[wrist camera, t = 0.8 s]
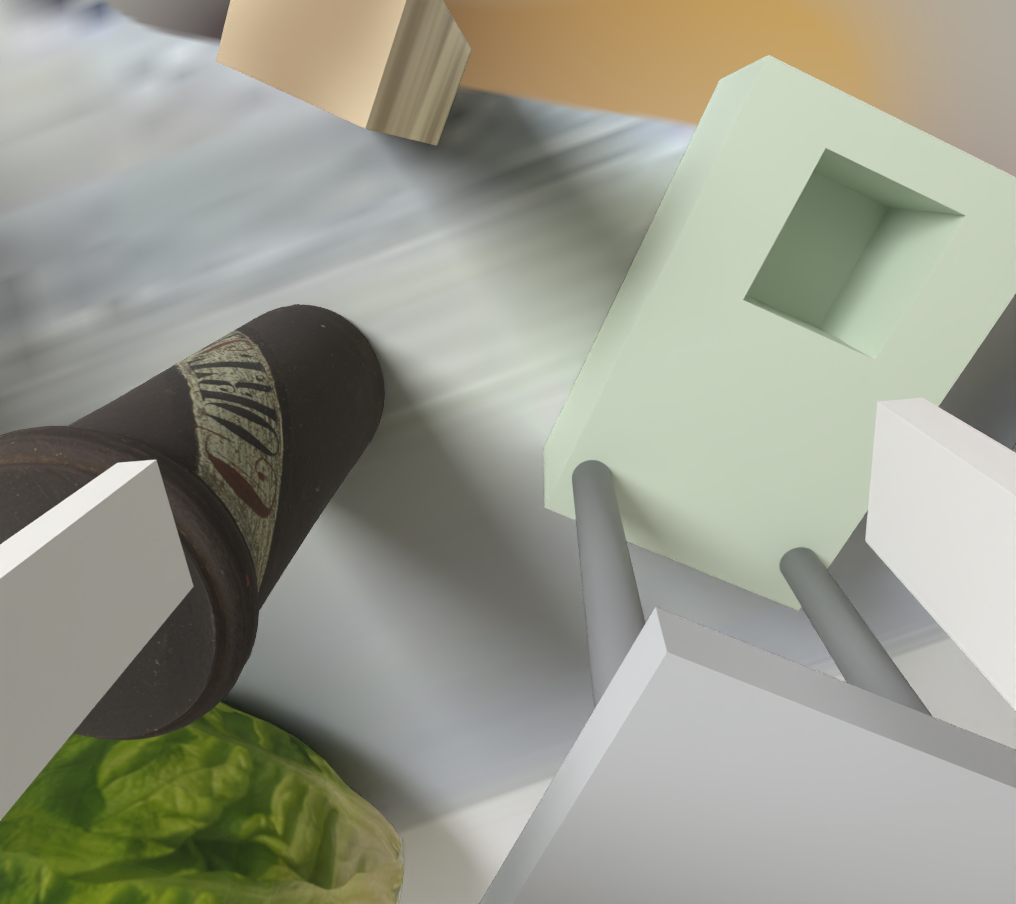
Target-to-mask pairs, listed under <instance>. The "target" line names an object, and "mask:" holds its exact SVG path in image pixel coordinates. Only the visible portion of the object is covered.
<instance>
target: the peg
mask: <svg viewBox="0 0 1016 904" xmlns="http://www.w3.org/2000/svg"><path fill="white" fill-rule="evenodd" d="M470 53H471V48H470V47H469V45H468V43H467V41H466V40H465V38H464V36H463V34H462V33H461V31H460V29H459V28H458V26H457V24H456V22H455V21H454V19H453V17H452V15H451V14H450V12H449V10H448V9H447V7H446V5H445V3H444V2H443V0H231V1H230V5H229V9H228V13H227V17H226V21H225V26H224V30H223V34H222V38H221V42H220V46H219V50H218V54H217V59H216V61H217V62H219V63H221V64H223V65H226V66H228V67H230V68H232V69H234V70H237V71H239V72H241V73H243V74H245V75H248V76H250V77H252V78H254V79H257V80H259V81H261V82H263V83H265V84H268V85H270V86H272V87H274V88H276V89H279V90H281V91H283V92H285V93H287V94H290V95H292V96H294V97H296V98H298V99H301V100H303V101H305V102H307V103H310V104H312V105H314V106H316V107H318V108H321V109H323V110H325V111H327V112H329V113H332V114H334V115H336V116H338V117H340V118H343V119H345V120H347V121H349V122H351V123H354V124H356V125H358V126H360V127H363V128H365V129H368V130H373V131H377V132H381V133H385V134H390V135H394V136H398V137H402V138H407V139H411V140H415V141H419V142H423V143H428V144H432V145H436V146H438V143H439V140H440V137H441V134H442V132H443V129H444V126H445V123H446V120H447V118H448V115H449V112H450V109H451V106H452V104H453V101H454V98H455V95H456V92H457V90H458V87H459V84H460V81H461V78H462V76H463V73H464V70H465V67H466V64H467V61H468V58H469V56H470Z"/></svg>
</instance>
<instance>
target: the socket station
mask: <svg viewBox="0 0 1016 904" xmlns="http://www.w3.org/2000/svg"><path fill="white" fill-rule="evenodd" d="M1015 294H1016V177H1014V176H1012V175H1010V174H1008V173H1006V172H1004V171H1002V170H1000V169H998V168H996V167H994V166H992V165H990V164H988V163H986V162H984V161H982V160H980V159H978V158H976V157H974V156H972V155H970V154H968V153H966V152H964V151H962V150H960V149H958V148H955V147H954V146H952V145H949V144H948V143H945V142H944V141H942V140H939V139H937V138H936V137H933V136H931V135H929V134H927V133H925V132H923V131H921V130H919V129H917V128H915V127H913V126H911V125H909V124H907V123H905V122H903V121H901V120H899V119H897V118H895V117H893V116H891V115H889V114H887V113H885V112H883V111H881V110H879V109H877V108H875V107H873V106H871V105H869V104H867V103H865V102H863V101H861V100H859V99H857V98H855V97H853V96H851V95H848V94H846V93H844V92H843V91H841V90H838V89H836V88H834V87H832V86H830V85H828V84H826V83H824V82H822V81H820V80H818V79H816V78H814V77H812V76H810V75H808V74H806V73H804V72H802V71H800V70H798V69H796V68H794V67H792V66H790V65H788V64H786V63H784V62H782V61H780V60H778V59H775V58H774V57H772V56H770V55H768V56H766V57H764V58H762V59H760V60H758V61H756V62H754V63H752V64H750V65H748V66H746V67H744V68H742V69H740V70H738V71H736V72H734V73H732V74H730V75H728V76H726V77H725V78H722V79H721V80H719V82H718V85H717V87H716V89H715V91H714V93H713V95H712V97H711V99H710V101H709V104H708V105H707V108H706V110H705V112H704V114H703V116H702V118H701V120H700V122H699V124H698V126H697V128H696V131H695V133H694V135H693V137H692V139H691V141H690V143H689V145H688V147H687V149H686V151H685V154H684V156H683V158H682V160H681V162H680V164H679V166H678V168H677V170H676V172H675V175H674V177H673V179H672V181H671V183H670V185H669V187H668V189H667V191H666V193H665V195H664V198H663V200H662V202H661V204H660V206H659V208H658V210H657V212H656V214H655V216H654V218H653V221H652V223H651V225H650V227H649V229H648V231H647V233H646V235H645V237H644V239H643V241H642V244H641V246H640V248H639V250H638V252H637V254H636V256H635V258H634V260H633V262H632V264H631V267H630V269H629V271H628V273H627V275H626V277H625V279H624V281H623V283H622V285H621V287H620V290H619V292H618V294H617V296H616V298H615V300H614V302H613V304H612V306H611V308H610V311H609V313H608V315H607V317H606V319H605V321H604V323H603V325H602V327H601V329H600V331H599V334H598V336H597V338H596V340H595V342H594V344H593V346H592V348H591V350H590V352H589V354H588V357H587V359H586V361H585V363H584V365H583V367H582V369H581V371H580V373H579V375H578V377H577V380H576V382H575V384H574V386H573V388H572V390H571V392H570V394H569V396H568V398H567V400H566V403H565V405H564V407H563V409H562V411H561V413H560V415H559V417H558V419H557V421H556V424H555V426H554V428H553V430H552V432H551V434H550V436H549V438H548V440H547V442H546V444H545V447H544V508H546V509H548V510H551V511H553V512H556V513H558V514H561V515H563V516H566V517H568V518H570V519H573V520H575V521H576V526H577V536H578V546H579V556H580V566H581V576H582V586H583V596H584V606H585V617H586V627H587V637H588V647H589V657H590V667H591V677H592V687H593V697H594V707H595V710H594V711H593V713H592V715H591V716H590V718H589V720H588V721H587V723H586V725H585V726H584V728H583V730H582V731H581V733H580V735H579V736H578V738H577V740H576V742H575V743H574V745H573V747H572V748H571V750H570V752H569V753H568V755H567V757H566V758H565V760H564V762H563V763H562V765H561V767H560V769H559V770H558V772H557V774H556V775H555V777H554V779H553V780H552V782H551V784H550V785H549V787H548V789H547V790H546V792H545V794H544V795H543V797H542V799H541V801H540V802H539V804H538V806H537V807H536V809H535V811H534V812H533V814H532V816H531V817H530V819H529V821H528V822H527V824H526V826H525V828H524V829H523V831H522V833H521V834H520V836H519V838H518V839H517V841H516V843H515V844H514V846H513V848H512V849H511V851H510V853H509V854H508V856H507V858H506V860H505V861H504V863H503V865H502V866H501V868H500V870H499V871H498V873H497V875H496V876H495V878H494V880H493V881H492V883H491V885H490V887H489V888H488V890H487V892H486V893H485V895H484V897H483V898H482V900H481V902H480V903H479V904H1016V750H1015V749H1012V748H1010V747H1007V746H1004V745H1002V744H999V743H997V742H994V741H992V740H989V739H987V738H984V737H982V736H979V735H977V734H974V733H972V732H969V731H967V730H964V729H962V728H959V727H957V726H954V725H952V724H949V723H947V722H944V721H942V720H939V719H936V718H934V717H932V715H931V714H930V712H929V711H928V710H927V708H926V707H925V705H924V704H923V703H922V701H921V700H920V698H919V697H918V696H917V694H916V693H915V692H914V690H913V689H912V687H911V686H910V685H909V683H908V682H907V680H906V679H905V678H904V676H903V675H902V673H901V672H900V671H899V669H898V668H897V666H896V665H895V664H894V662H893V661H892V659H891V658H890V657H889V655H888V654H887V652H886V651H885V650H884V648H883V647H882V645H881V644H880V643H879V641H878V640H877V638H876V637H875V636H874V634H873V633H872V631H871V630H870V629H869V627H868V626H867V625H866V623H865V622H864V620H863V619H862V618H861V616H860V615H859V613H858V612H857V611H856V609H855V608H854V606H853V605H852V604H851V602H850V601H849V599H848V598H847V597H846V595H845V594H844V592H843V591H842V590H841V588H840V587H839V585H838V584H837V583H836V581H835V580H834V578H833V577H832V576H831V574H830V573H829V571H828V570H827V569H828V568H829V566H830V565H831V563H832V562H833V560H834V559H835V557H836V556H837V554H838V553H839V552H840V550H841V549H842V547H843V546H844V544H845V543H846V541H847V540H848V538H849V537H850V535H851V534H852V532H853V531H854V530H855V528H856V527H857V525H858V524H859V522H860V521H861V519H862V518H863V516H864V515H865V513H866V512H867V511H868V503H869V491H870V480H871V468H872V457H873V445H874V434H875V422H876V410H877V401H887V400H899V399H912V398H924V399H926V400H927V401H929V402H931V403H933V404H934V405H936V406H938V407H939V405H940V404H941V402H942V401H943V399H944V398H945V396H946V395H947V393H948V392H949V390H950V389H951V388H952V386H953V385H954V383H955V382H956V380H957V379H958V377H959V376H960V374H961V373H962V371H963V370H964V369H965V367H966V366H967V364H968V363H969V361H970V360H971V358H972V357H973V355H974V354H975V352H976V351H977V350H978V348H979V347H980V345H981V344H982V342H983V341H984V339H985V338H986V336H987V335H988V333H989V332H990V330H991V329H992V328H993V326H994V325H995V323H996V322H997V320H998V319H999V317H1000V316H1001V314H1002V313H1003V311H1004V310H1005V309H1006V307H1007V306H1008V304H1009V303H1010V301H1011V300H1012V298H1013V297H1014V295H1015ZM627 542H630V543H632V544H635V545H637V546H639V547H642V548H644V549H647V550H649V551H652V552H654V553H657V554H659V555H662V556H664V557H667V558H669V559H672V560H674V561H676V562H679V563H681V564H684V565H686V566H689V567H691V568H694V569H696V570H699V571H701V572H704V573H706V574H708V575H711V576H713V577H716V578H718V579H721V580H723V581H726V582H728V583H731V584H733V585H736V586H738V587H741V588H743V589H745V590H748V591H750V592H753V593H755V594H758V595H760V596H763V597H765V598H768V599H770V600H773V601H775V602H777V603H780V604H782V605H785V606H787V607H790V608H792V609H795V610H797V611H799V610H800V609H801V607H802V608H803V610H804V611H805V613H806V615H807V616H808V618H809V620H810V621H811V623H812V625H813V627H814V628H815V630H816V632H817V633H818V635H819V637H820V638H821V640H822V642H823V643H824V645H825V647H826V648H827V650H828V652H829V653H830V655H831V657H832V658H833V660H834V662H835V663H836V665H837V667H838V668H839V670H840V672H841V673H842V675H843V677H844V678H845V680H846V682H847V683H846V682H843V681H841V680H838V679H836V678H833V677H831V676H828V675H826V674H823V673H821V672H818V671H816V670H813V669H811V668H808V667H806V666H803V665H801V664H798V663H795V662H793V661H790V660H788V659H785V658H783V657H780V656H778V655H775V654H773V653H770V652H768V651H765V650H763V649H760V648H758V647H755V646H753V645H750V644H748V643H745V642H743V641H740V640H738V639H735V638H733V637H730V636H727V635H725V634H722V633H720V632H717V631H715V630H712V629H710V628H707V627H705V626H702V625H700V624H697V623H695V622H692V621H690V620H687V619H685V618H682V617H680V616H677V615H675V614H672V613H670V612H667V611H665V610H662V609H659V608H657V607H655V608H654V610H653V612H652V613H651V615H650V617H649V618H648V620H647V622H646V624H645V620H644V615H643V611H642V606H641V602H640V598H639V593H638V589H637V585H636V580H635V576H634V572H633V567H632V563H631V559H630V554H629V550H628V546H627Z"/></svg>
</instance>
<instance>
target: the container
mask: <svg viewBox="0 0 1016 904" xmlns="http://www.w3.org/2000/svg"><path fill="white" fill-rule="evenodd" d="M383 405H384V381H383V376H382V372H381V368H380V365H379V362H378V360H377V358H376V355H375V353H374V352H373V350H372V348H371V346H370V345H369V343H368V342H367V340H366V339H365V338H364V336H363V335H362V334H361V333H360V332H359V331H358V330H357V329H356V328H355V327H354V326H353V325H352V324H351V323H350V322H348V321H347V320H346V319H345V318H343V317H341V316H340V315H338V314H336V313H334V312H332V311H330V310H328V309H325V308H321V307H317V306H311V305H299V304H297V305H292V306H287V307H281V308H278V309H275V310H272V311H269V312H267V313H265V314H263V315H261V316H259V317H257V318H255V319H253V320H252V321H250V322H248V323H247V324H245V325H243V326H241V327H240V328H238V329H236V330H235V331H233V332H231V333H229V334H228V335H226V336H224V337H223V338H221V339H219V340H217V341H216V342H214V343H212V344H210V345H209V346H207V347H205V348H203V349H202V350H200V351H198V352H196V353H195V354H193V355H191V356H189V357H188V358H186V359H184V360H183V361H181V362H179V363H177V364H175V365H174V366H172V367H171V368H169V369H167V370H165V371H164V372H162V373H160V374H158V375H157V376H155V377H153V378H152V379H150V380H148V381H147V382H145V383H143V384H142V385H140V386H138V387H136V388H135V389H133V390H131V391H130V392H128V393H126V394H124V395H123V396H121V397H119V398H118V399H116V400H114V401H112V402H111V403H109V404H107V405H105V406H104V407H102V408H100V409H98V410H96V411H94V412H92V413H91V414H89V415H87V416H85V417H83V418H81V419H79V420H78V421H76V422H74V423H73V424H71V425H69V426H45V427H36V428H29V429H23V430H18V431H14V432H10V433H7V434H3V435H0V544H2V543H3V542H5V541H6V540H7V539H9V538H10V537H12V536H13V535H15V534H16V533H18V532H19V531H20V530H22V529H23V528H25V527H26V526H28V525H29V524H30V523H32V522H33V521H35V520H36V519H38V518H39V517H40V516H42V515H43V514H45V513H46V512H48V511H49V510H50V509H52V508H53V507H55V506H56V505H58V504H59V503H60V502H62V501H63V500H65V499H66V498H68V497H69V496H71V495H72V494H73V493H75V492H76V491H78V490H79V489H81V488H82V487H83V486H85V485H86V484H88V483H89V482H91V481H92V480H93V479H95V478H96V477H98V476H99V475H101V474H102V473H103V472H105V471H106V470H108V469H109V468H111V467H112V466H113V465H115V464H116V463H121V462H133V461H146V460H157V463H158V467H159V470H160V474H161V477H162V480H163V484H164V487H165V491H166V494H167V497H168V501H169V504H170V508H171V511H172V514H173V518H174V521H175V525H176V528H177V532H178V535H179V538H180V542H181V545H182V549H183V552H184V555H185V559H186V562H187V566H188V569H189V572H190V576H191V579H192V583H193V586H194V587H193V588H192V589H191V590H190V591H189V593H188V594H187V595H186V596H185V597H184V599H183V600H182V601H181V602H180V604H179V605H178V606H177V607H176V608H175V610H174V611H173V612H172V613H171V614H170V616H169V617H168V618H167V619H166V621H165V622H164V623H163V624H162V625H161V627H160V628H159V629H158V630H157V631H156V633H155V634H154V635H153V636H152V638H151V639H150V640H149V641H148V642H147V644H146V645H145V646H144V647H143V648H142V650H141V651H140V652H139V653H138V654H137V656H136V657H135V658H134V659H133V661H132V662H131V663H130V664H129V665H128V667H127V668H126V669H125V670H124V671H123V673H122V674H121V675H120V676H119V678H118V679H117V680H116V681H115V682H114V684H113V685H112V686H111V687H110V688H109V690H108V691H107V692H106V693H105V695H104V696H103V697H102V698H101V699H100V701H99V702H98V703H97V704H96V705H95V707H94V708H93V709H92V710H91V711H90V713H89V714H88V715H87V716H86V718H85V719H84V720H83V721H82V722H81V724H80V725H79V726H78V727H77V728H76V730H75V731H74V732H73V733H74V734H78V735H83V736H88V737H93V738H99V739H109V740H137V739H146V738H151V737H156V736H161V735H164V734H167V733H170V732H173V731H176V730H179V729H181V728H183V727H185V726H187V725H189V724H191V723H193V722H194V721H196V720H198V719H199V718H201V717H202V716H204V715H205V714H206V713H208V712H209V711H211V710H212V709H213V708H214V707H215V706H216V705H217V704H218V703H219V702H220V701H221V700H222V699H223V698H224V697H225V696H226V695H227V694H228V693H229V692H230V690H231V689H232V688H233V686H234V685H235V683H236V682H237V679H238V677H239V675H240V673H241V671H242V669H243V667H244V665H245V663H246V662H247V660H248V659H249V657H250V655H251V651H252V648H253V646H254V642H255V638H256V633H257V627H258V616H259V610H260V609H261V607H262V605H263V604H264V602H265V601H266V599H267V597H268V596H269V594H270V592H271V591H272V589H273V588H274V586H275V584H276V583H277V581H278V580H279V578H280V577H281V575H282V573H283V572H284V570H285V569H286V567H287V566H288V564H289V563H290V561H291V559H292V558H293V556H294V555H295V553H296V552H297V550H298V549H299V547H300V546H301V544H302V542H303V541H304V539H305V538H306V536H307V534H308V533H309V531H310V530H311V528H312V527H313V525H314V523H315V522H316V520H317V519H318V518H319V516H320V515H321V513H322V511H323V510H324V508H325V507H326V505H327V504H328V502H329V501H330V499H331V498H332V496H333V495H334V493H335V492H336V491H337V489H338V488H339V486H340V485H341V483H342V482H343V480H344V479H345V477H346V476H347V474H348V473H349V471H350V470H351V469H352V467H353V466H354V464H355V463H356V462H357V460H358V459H359V457H360V456H361V455H362V453H363V452H364V450H365V449H366V447H367V445H368V444H369V442H370V441H371V439H372V437H373V435H374V434H375V432H376V429H377V427H378V425H379V422H380V419H381V416H382V411H383Z"/></svg>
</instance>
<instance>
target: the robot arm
mask: <svg viewBox="0 0 1016 904" xmlns="http://www.w3.org/2000/svg"><path fill="white" fill-rule="evenodd" d="M865 541H866V542H867V544H868V545H869V546H870V547H871V548H872V549H873V550H874V551H875V553H876V554H877V555H878V556H879V557H880V558H881V559H882V561H883V562H884V563H885V564H886V565H887V566H888V567H889V568H890V570H891V571H892V572H893V573H894V574H895V575H896V576H897V577H898V579H899V580H900V581H901V582H902V583H903V584H904V585H905V587H906V588H907V589H908V590H909V591H910V592H911V593H912V594H913V596H914V597H915V598H916V599H917V600H918V601H919V602H920V604H921V605H922V606H923V607H924V608H925V609H926V610H927V611H928V613H929V614H930V615H931V616H932V617H933V618H934V619H935V621H936V622H937V623H938V624H939V625H940V626H941V627H942V628H943V630H944V631H945V632H946V633H947V634H948V635H949V636H950V638H951V639H952V640H953V641H954V642H955V643H956V644H957V645H958V647H959V648H960V649H961V650H962V651H963V652H964V653H965V655H966V656H967V657H968V658H969V659H970V660H971V661H972V662H973V664H974V665H975V666H976V667H977V668H978V669H979V670H980V672H981V673H982V674H983V675H984V676H985V677H986V678H987V679H988V681H989V682H990V683H991V684H992V685H993V686H994V687H995V688H996V690H997V691H998V692H999V693H1000V694H1001V695H1002V696H1003V698H1004V699H1005V700H1006V701H1007V702H1008V703H1009V704H1010V705H1011V707H1012V708H1013V709H1014V710H1015V711H1016V453H1015V452H1014V451H1012V450H1010V449H1009V448H1007V447H1005V446H1003V445H1002V444H1000V443H998V442H997V441H995V440H993V439H992V438H990V437H988V436H987V435H985V434H983V433H982V432H980V431H978V430H976V429H975V428H973V427H971V426H970V425H968V424H966V423H965V422H963V421H961V420H960V419H958V418H956V417H954V416H953V415H951V414H949V413H948V412H946V411H944V410H943V409H941V408H939V407H938V406H936V405H934V404H933V403H931V402H929V401H927V400H926V399H924V398H912V399H899V400H887V401H877V410H876V422H875V434H874V445H873V457H872V468H871V480H870V491H869V503H868V514H867V526H866V537H865ZM193 587H194V586H193V583H192V579H191V576H190V572H189V569H188V566H187V562H186V559H185V555H184V552H183V549H182V545H181V542H180V538H179V535H178V532H177V528H176V525H175V521H174V518H173V514H172V511H171V508H170V504H169V501H168V497H167V494H166V491H165V487H164V484H163V480H162V477H161V474H160V470H159V467H158V463H157V460H146V461H133V462H121V463H116V464H115V465H113V466H112V467H111V468H109V469H108V470H106V471H105V472H103V473H102V474H101V475H99V476H98V477H96V478H95V479H93V480H92V481H91V482H89V483H88V484H86V485H85V486H83V487H82V488H81V489H79V490H78V491H76V492H75V493H73V494H72V495H71V496H69V497H68V498H66V499H65V500H63V501H62V502H60V503H59V504H58V505H56V506H55V507H53V508H52V509H50V510H49V511H48V512H46V513H45V514H43V515H42V516H40V517H39V518H38V519H36V520H35V521H33V522H32V523H30V524H29V525H28V526H26V527H25V528H23V529H22V530H20V531H19V532H18V533H16V534H15V535H13V536H12V537H10V538H9V539H7V540H6V541H5V542H3V543H2V544H0V821H1V819H2V818H3V817H4V816H5V815H6V813H7V812H8V811H9V810H10V809H11V807H12V806H13V805H14V804H15V802H16V801H17V800H18V799H19V798H20V796H21V795H22V794H23V793H24V792H25V790H26V789H27V788H28V787H29V785H30V784H31V783H32V782H33V781H34V779H35V778H36V777H37V776H38V775H39V773H40V772H41V771H42V770H43V768H44V767H45V766H46V765H47V764H48V762H49V761H50V760H51V759H52V758H53V756H54V755H55V754H56V753H57V752H58V750H59V749H60V748H61V747H62V745H63V744H64V743H65V742H66V741H67V739H68V738H69V737H70V736H71V735H72V733H73V732H74V731H75V730H76V728H77V727H78V726H79V725H80V724H81V722H82V721H83V720H84V719H85V718H86V716H87V715H88V714H89V713H90V711H91V710H92V709H93V708H94V707H95V705H96V704H97V703H98V702H99V701H100V699H101V698H102V697H103V696H104V695H105V693H106V692H107V691H108V690H109V688H110V687H111V686H112V685H113V684H114V682H115V681H116V680H117V679H118V678H119V676H120V675H121V674H122V673H123V671H124V670H125V669H126V668H127V667H128V665H129V664H130V663H131V662H132V661H133V659H134V658H135V657H136V656H137V654H138V653H139V652H140V651H141V650H142V648H143V647H144V646H145V645H146V644H147V642H148V641H149V640H150V639H151V638H152V636H153V635H154V634H155V633H156V631H157V630H158V629H159V628H160V627H161V625H162V624H163V623H164V622H165V621H166V619H167V618H168V617H169V616H170V614H171V613H172V612H173V611H174V610H175V608H176V607H177V606H178V605H179V604H180V602H181V601H182V600H183V599H184V597H185V596H186V595H187V594H188V593H189V591H190V590H191V589H192V588H193Z"/></svg>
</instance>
